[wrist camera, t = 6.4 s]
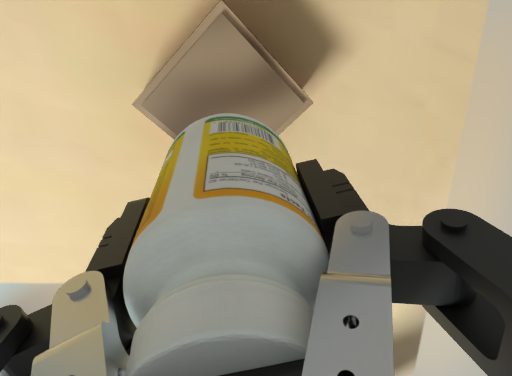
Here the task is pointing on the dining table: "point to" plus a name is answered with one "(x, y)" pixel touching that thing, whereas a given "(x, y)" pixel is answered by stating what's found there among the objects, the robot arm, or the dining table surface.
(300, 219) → the supplement bottle
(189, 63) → the wooden box
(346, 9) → the dining table surface
